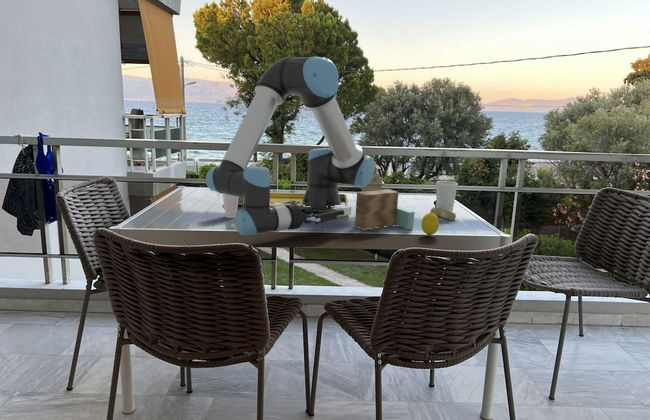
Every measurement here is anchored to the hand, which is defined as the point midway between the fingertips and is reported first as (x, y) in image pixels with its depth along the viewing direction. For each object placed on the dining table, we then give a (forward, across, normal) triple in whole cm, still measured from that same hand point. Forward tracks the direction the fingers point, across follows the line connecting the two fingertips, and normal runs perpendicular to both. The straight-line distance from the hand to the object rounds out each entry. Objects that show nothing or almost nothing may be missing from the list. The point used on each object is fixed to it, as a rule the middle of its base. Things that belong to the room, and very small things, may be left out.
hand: (349, 210), depth 162 cm
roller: (+43, 0, -6) cm, 43 cm away
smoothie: (-28, -31, -7) cm, 43 cm away
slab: (+12, 0, -7) cm, 13 cm away
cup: (+49, -4, -7) cm, 49 cm away
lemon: (+20, +17, -7) cm, 27 cm away
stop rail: (+20, 0, -7) cm, 21 cm away
